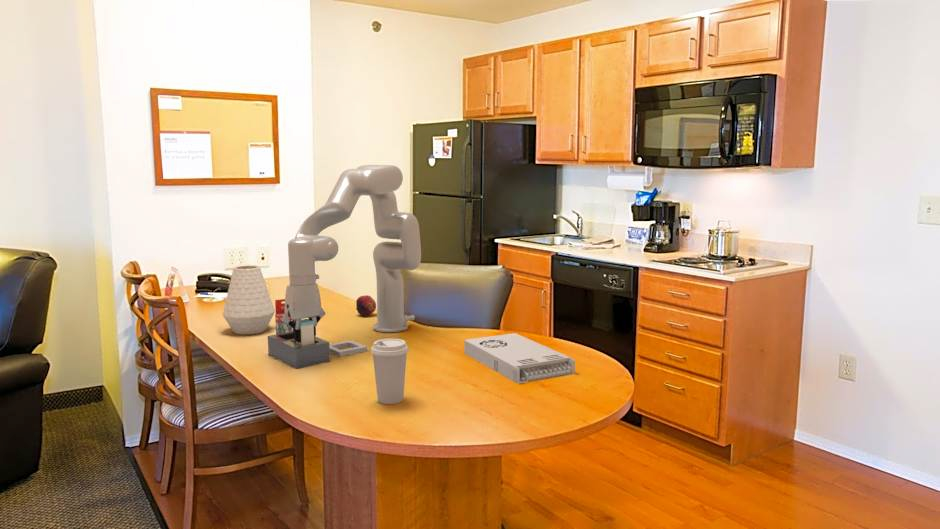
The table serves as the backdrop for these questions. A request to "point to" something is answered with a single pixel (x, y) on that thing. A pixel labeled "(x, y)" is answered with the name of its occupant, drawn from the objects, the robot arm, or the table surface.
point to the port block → (298, 350)
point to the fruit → (365, 305)
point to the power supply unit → (519, 357)
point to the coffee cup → (390, 369)
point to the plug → (306, 332)
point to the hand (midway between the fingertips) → (304, 339)
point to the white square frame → (353, 350)
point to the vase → (248, 301)
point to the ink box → (280, 311)
